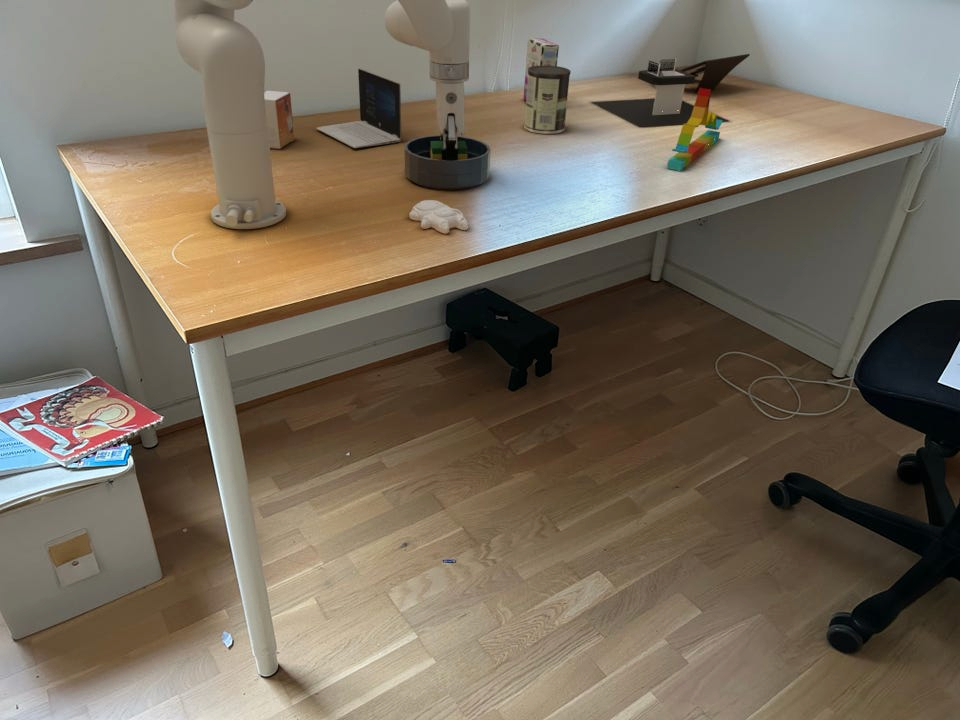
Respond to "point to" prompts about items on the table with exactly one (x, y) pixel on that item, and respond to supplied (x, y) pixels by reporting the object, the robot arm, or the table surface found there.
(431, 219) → the white flat figure
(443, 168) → the bowl
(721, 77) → the laptop tray
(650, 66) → the black-topped pedestal
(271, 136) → the small box
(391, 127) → the laptop
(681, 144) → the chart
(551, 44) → the candy bar box
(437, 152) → the sponge
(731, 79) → the table surface
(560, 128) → the coffee can
